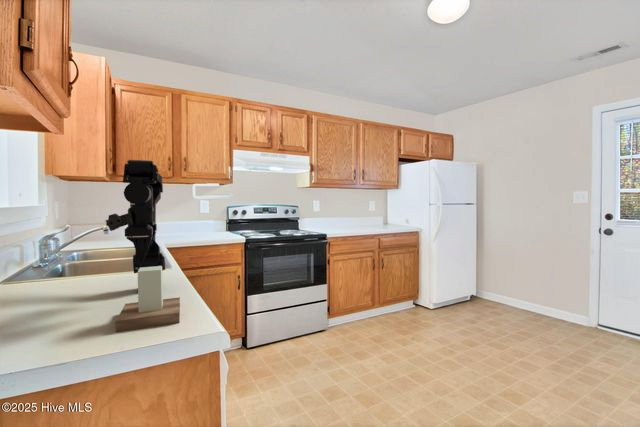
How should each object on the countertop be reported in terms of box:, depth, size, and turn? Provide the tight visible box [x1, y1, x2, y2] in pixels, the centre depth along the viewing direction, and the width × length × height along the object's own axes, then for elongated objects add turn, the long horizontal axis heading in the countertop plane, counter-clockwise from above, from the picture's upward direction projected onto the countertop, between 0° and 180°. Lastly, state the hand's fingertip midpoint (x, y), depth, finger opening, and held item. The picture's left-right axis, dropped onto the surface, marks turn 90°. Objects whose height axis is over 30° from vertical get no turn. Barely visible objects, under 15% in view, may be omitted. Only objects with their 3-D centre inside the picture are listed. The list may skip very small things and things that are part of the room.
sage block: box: [137, 266, 164, 313], centre depth 78 cm, size 5×5×10 cm
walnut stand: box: [115, 296, 181, 333], centre depth 78 cm, size 13×13×2 cm
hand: (142, 258), depth 89 cm, fingers open, 9 cm apart
